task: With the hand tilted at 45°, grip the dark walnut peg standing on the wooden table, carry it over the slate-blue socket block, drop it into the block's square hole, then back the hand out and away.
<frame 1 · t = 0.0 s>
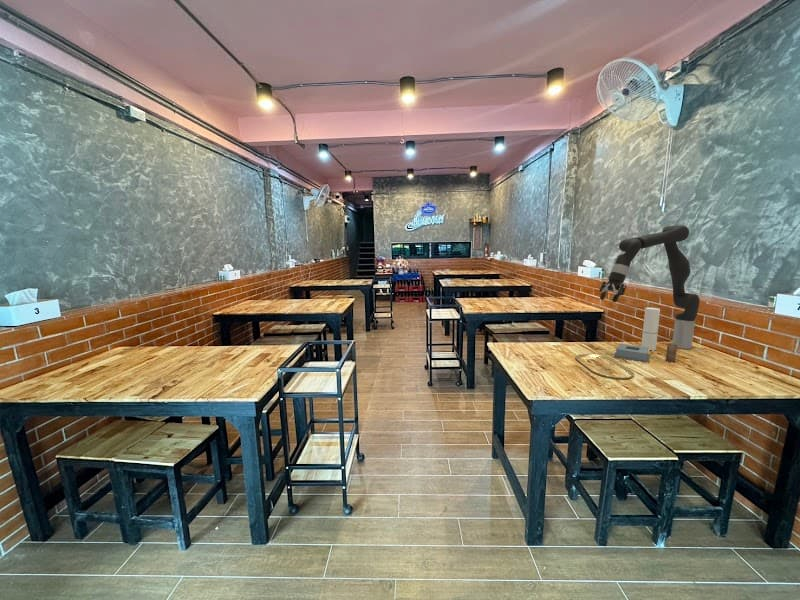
hand: (607, 300, 189), 31 cm above the table, tool tilted 20°, fingers open, 8 cm apart
rubber band: (602, 367, 175), on the table
tall white block: (648, 349, 202), on the table
walnut peg: (670, 361, 181), on the table
socket block: (631, 356, 190), on the table
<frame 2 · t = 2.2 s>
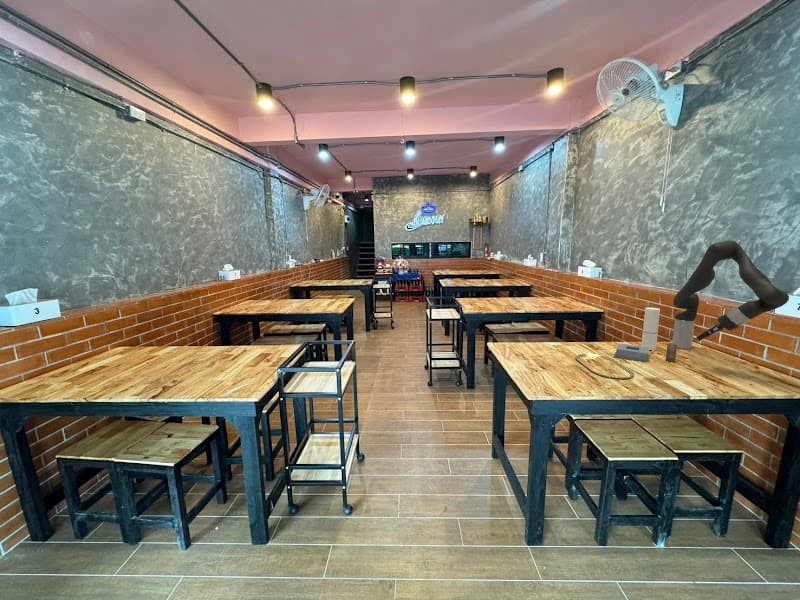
hand: (700, 337, 170), 15 cm above the table, tool tilted 45°, fingers open, 8 cm apart
nothing on the table moved.
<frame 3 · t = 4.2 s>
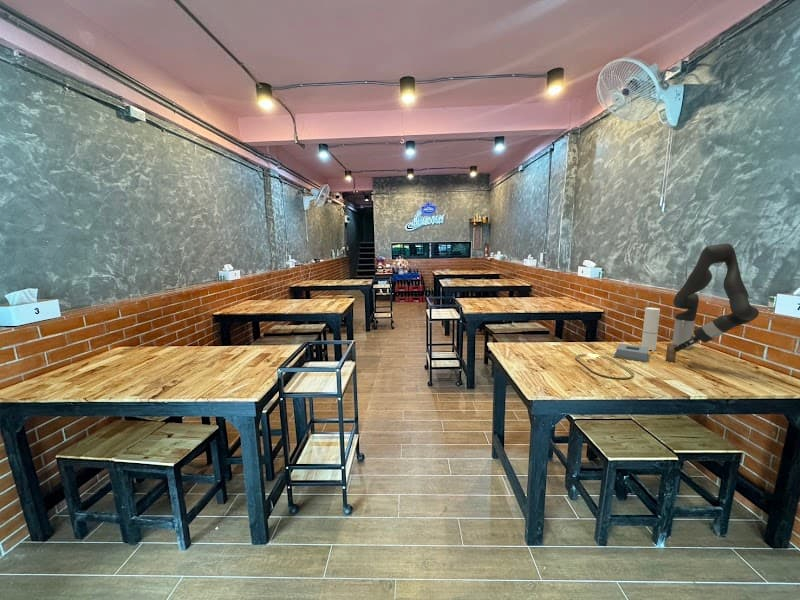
hand: (677, 348, 178), 8 cm above the table, tool tilted 45°, fingers open, 8 cm apart
nothing on the table moved.
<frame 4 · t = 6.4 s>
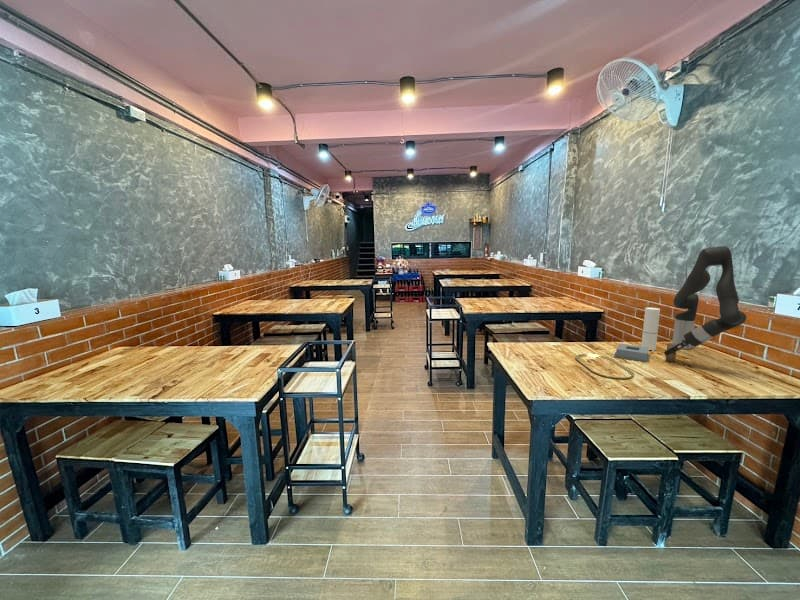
hand: (666, 353, 182), 4 cm above the table, tool tilted 45°, fingers closed on walnut peg, 4 cm apart
walnut peg: (670, 361, 181), on the table, touching gripper
everything else where it was.
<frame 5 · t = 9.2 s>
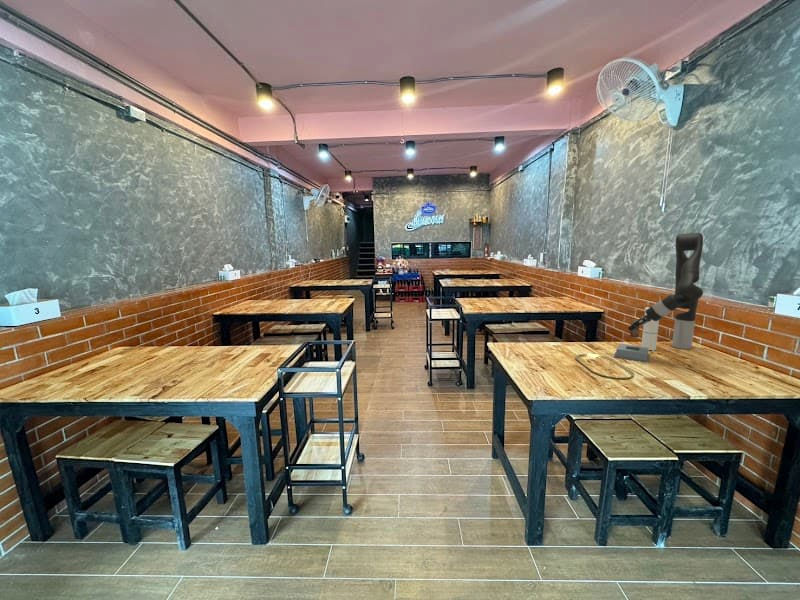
hand: (630, 328, 189), 16 cm above the table, tool tilted 45°, fingers closed on walnut peg, 4 cm apart
walnut peg: (634, 336, 188), point 12 cm above the table, touching gripper
everything else where it was.
when the fingers open (6 cm above the table, at t = 12.0 s): walnut peg drops 1 cm, resting on socket block.
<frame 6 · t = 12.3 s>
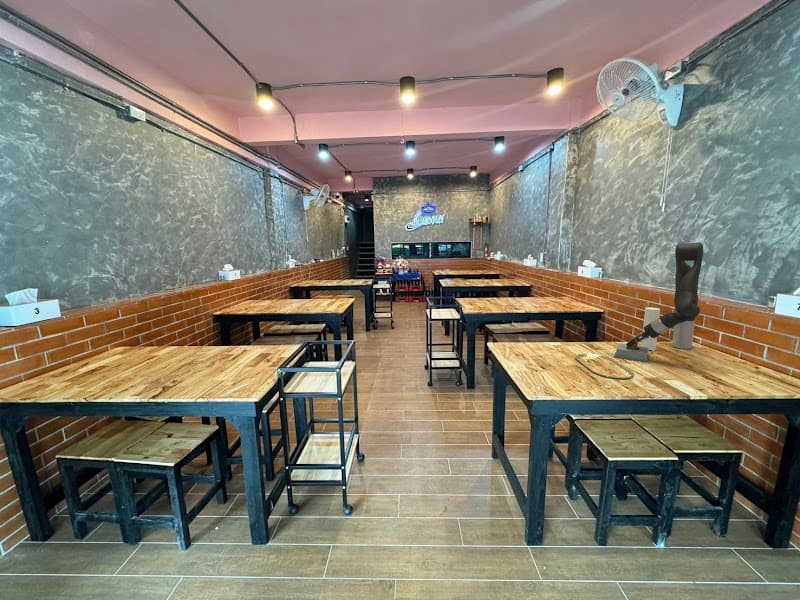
hand: (629, 344, 190), 7 cm above the table, tool tilted 45°, fingers open, 7 cm apart
walnut peg: (632, 355, 189), point 1 cm above the table, touching socket block
everything else where it was.
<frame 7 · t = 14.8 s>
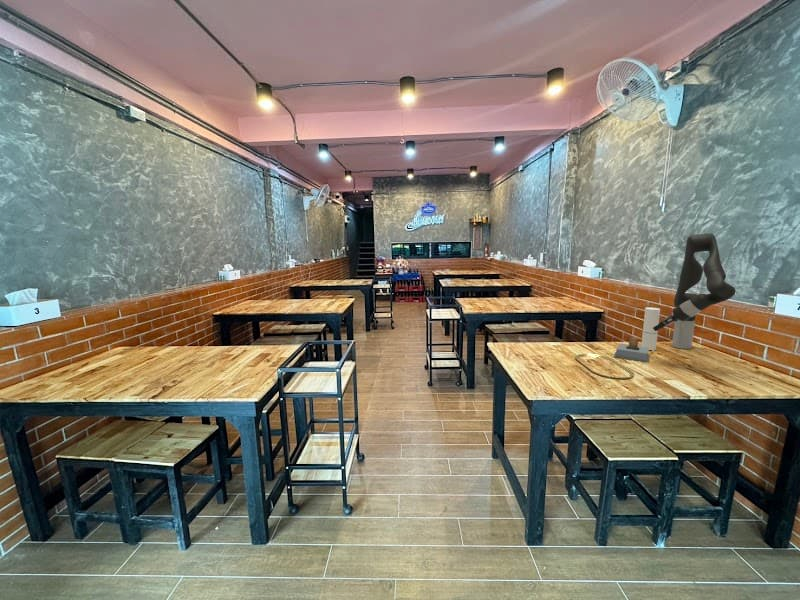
hand: (656, 328, 180), 18 cm above the table, tool tilted 45°, fingers open, 8 cm apart
nothing on the table moved.
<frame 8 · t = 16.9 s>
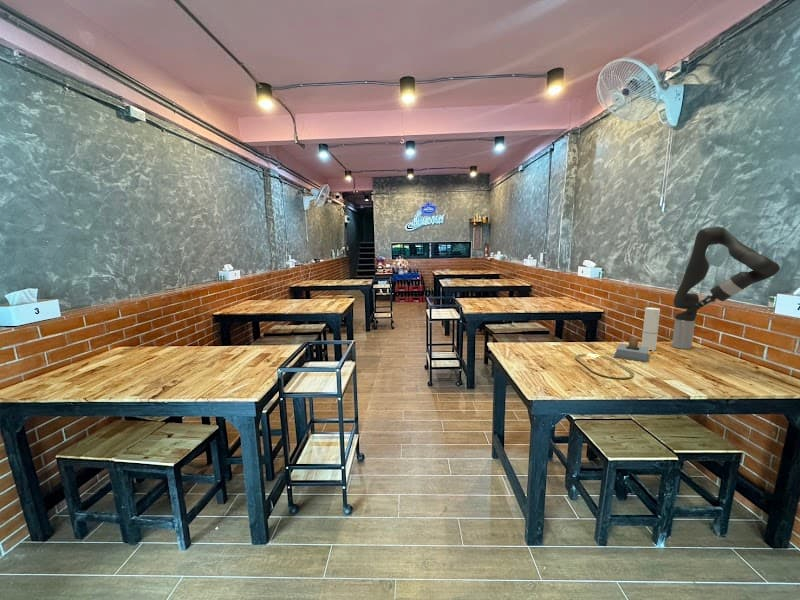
hand: (692, 309, 174), 29 cm above the table, tool tilted 45°, fingers open, 8 cm apart
nothing on the table moved.
at the end: walnut peg 0.1 cm off-centre on the socket block, point 0.8 cm above the socket block's base; walnut peg tilted 0°; the gripper is holding nothing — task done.
